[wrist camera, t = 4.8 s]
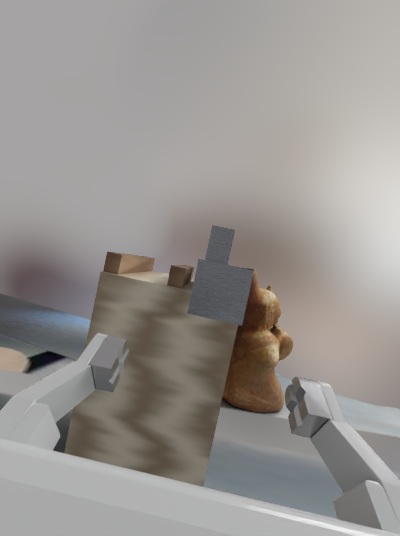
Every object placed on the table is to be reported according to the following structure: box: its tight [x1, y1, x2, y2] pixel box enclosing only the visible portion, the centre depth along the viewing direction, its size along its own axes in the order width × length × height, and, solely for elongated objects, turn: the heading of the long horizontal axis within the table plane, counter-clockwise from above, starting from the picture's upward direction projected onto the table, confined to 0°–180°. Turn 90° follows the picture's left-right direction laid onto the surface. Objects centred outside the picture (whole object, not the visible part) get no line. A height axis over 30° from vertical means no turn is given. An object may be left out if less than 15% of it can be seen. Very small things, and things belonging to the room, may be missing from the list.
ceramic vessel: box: [222, 268, 293, 412], centre depth 50 cm, size 16×22×30 cm
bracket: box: [187, 226, 254, 326], centre depth 21 cm, size 3×20×8 cm, turn 177°
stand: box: [64, 252, 238, 487], centre depth 28 cm, size 14×14×28 cm
